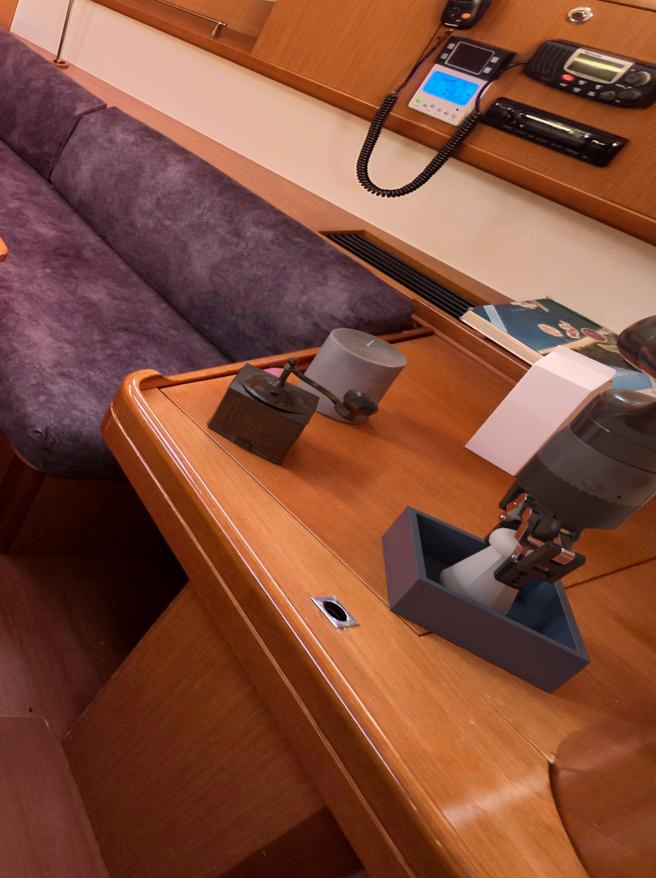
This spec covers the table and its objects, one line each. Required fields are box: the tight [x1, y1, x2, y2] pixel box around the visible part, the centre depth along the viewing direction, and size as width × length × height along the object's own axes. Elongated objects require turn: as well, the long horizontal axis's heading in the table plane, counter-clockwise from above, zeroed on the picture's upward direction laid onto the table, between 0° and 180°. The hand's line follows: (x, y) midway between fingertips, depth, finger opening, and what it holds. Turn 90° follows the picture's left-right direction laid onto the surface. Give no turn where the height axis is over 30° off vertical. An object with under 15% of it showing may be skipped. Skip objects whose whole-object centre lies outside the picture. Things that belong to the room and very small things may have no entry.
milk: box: [464, 345, 618, 477], centre depth 98 cm, size 6×6×22 cm
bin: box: [381, 505, 591, 695], centre depth 80 cm, size 14×14×7 cm
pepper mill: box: [206, 356, 379, 466], centre depth 100 cm, size 16×11×18 cm
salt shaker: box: [439, 528, 540, 616], centre depth 78 cm, size 6×6×13 cm
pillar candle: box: [296, 327, 408, 425], centre depth 109 cm, size 10×10×15 cm
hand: (500, 564), depth 77 cm, fingers open, 5 cm apart
